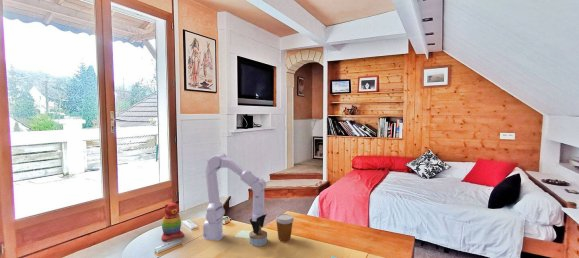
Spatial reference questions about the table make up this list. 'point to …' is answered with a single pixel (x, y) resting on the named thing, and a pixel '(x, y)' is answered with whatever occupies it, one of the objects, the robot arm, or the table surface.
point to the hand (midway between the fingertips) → (258, 230)
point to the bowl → (258, 241)
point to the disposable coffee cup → (284, 227)
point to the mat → (243, 234)
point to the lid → (260, 234)
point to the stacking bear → (171, 223)
